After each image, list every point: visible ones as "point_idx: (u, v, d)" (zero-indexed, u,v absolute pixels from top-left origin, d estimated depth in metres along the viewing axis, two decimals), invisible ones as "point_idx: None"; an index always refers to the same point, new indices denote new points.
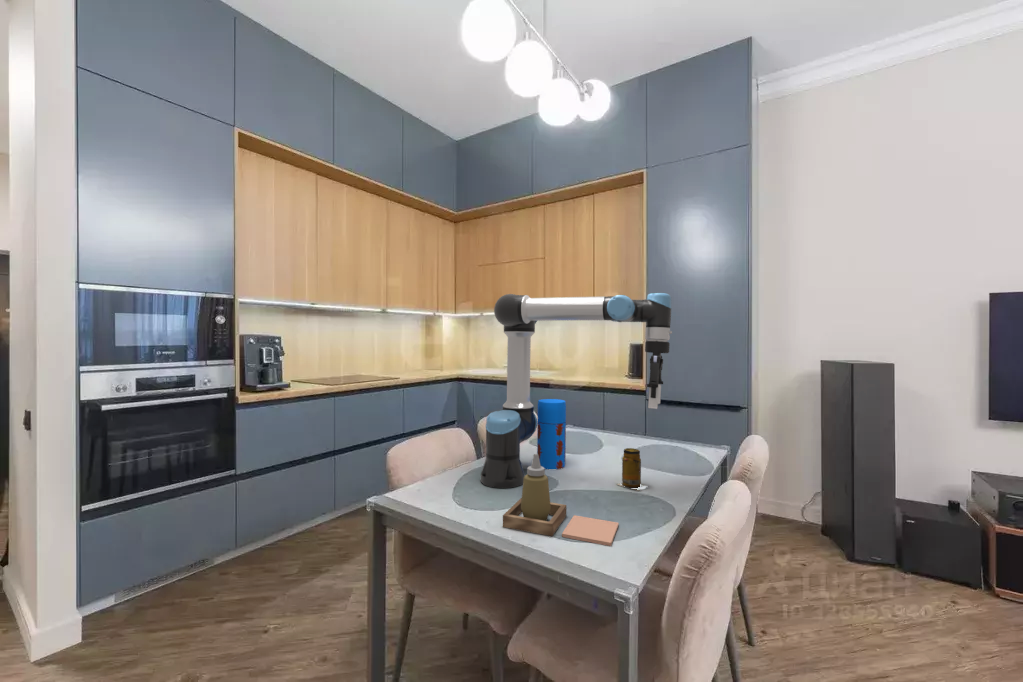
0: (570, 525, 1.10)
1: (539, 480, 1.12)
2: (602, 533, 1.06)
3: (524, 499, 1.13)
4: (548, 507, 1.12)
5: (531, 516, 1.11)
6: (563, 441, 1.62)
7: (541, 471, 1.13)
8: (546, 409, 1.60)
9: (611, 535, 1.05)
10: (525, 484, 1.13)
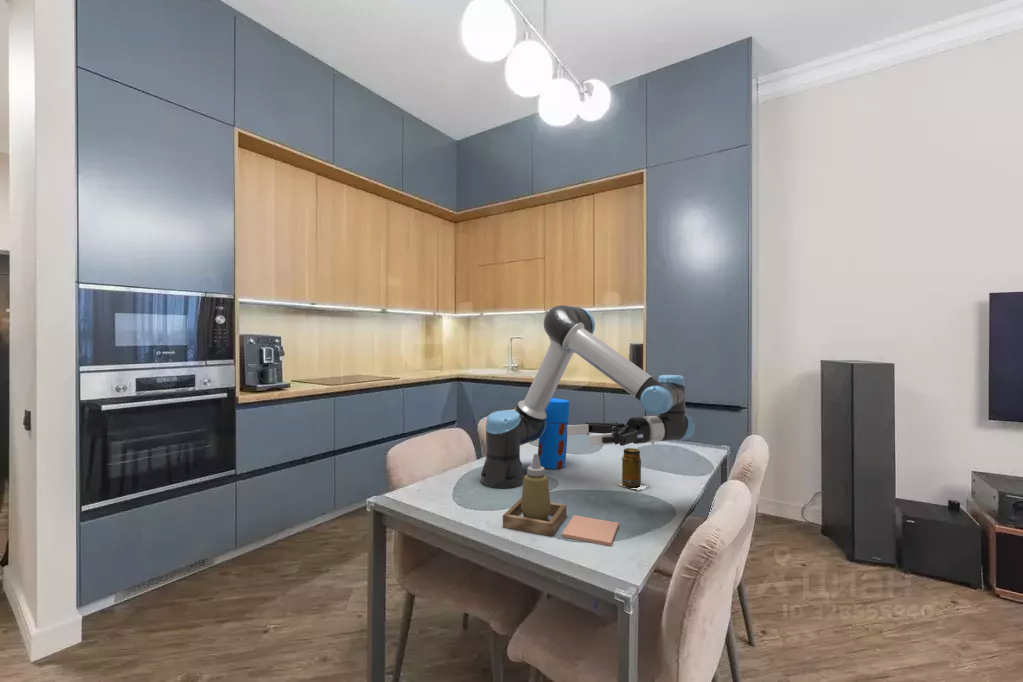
0: (570, 525, 1.10)
1: (539, 480, 1.12)
2: (602, 533, 1.06)
3: (524, 499, 1.13)
4: (548, 507, 1.12)
5: (531, 516, 1.11)
6: (565, 441, 1.62)
7: (541, 471, 1.13)
8: (550, 408, 1.60)
9: (611, 535, 1.05)
10: (525, 484, 1.13)
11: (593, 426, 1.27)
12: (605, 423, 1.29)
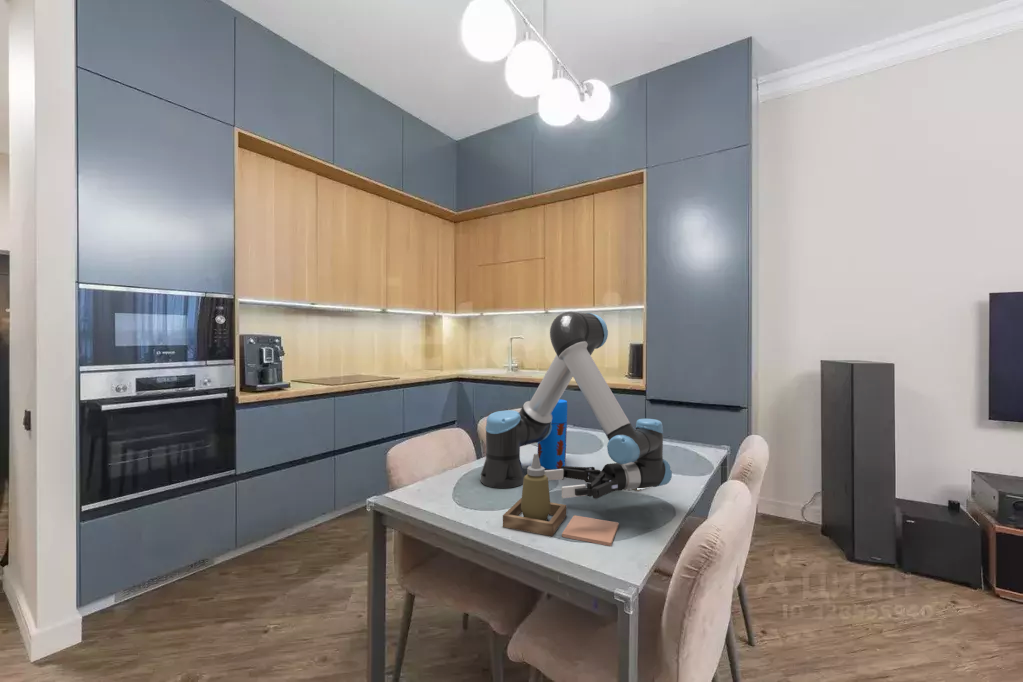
0: (570, 525, 1.10)
1: (539, 480, 1.12)
2: (602, 533, 1.06)
3: (524, 499, 1.13)
4: (548, 507, 1.12)
5: (531, 516, 1.11)
6: (564, 441, 1.62)
7: (541, 471, 1.13)
8: None
9: (611, 535, 1.05)
10: (525, 484, 1.13)
11: (568, 471, 1.24)
12: (581, 467, 1.26)
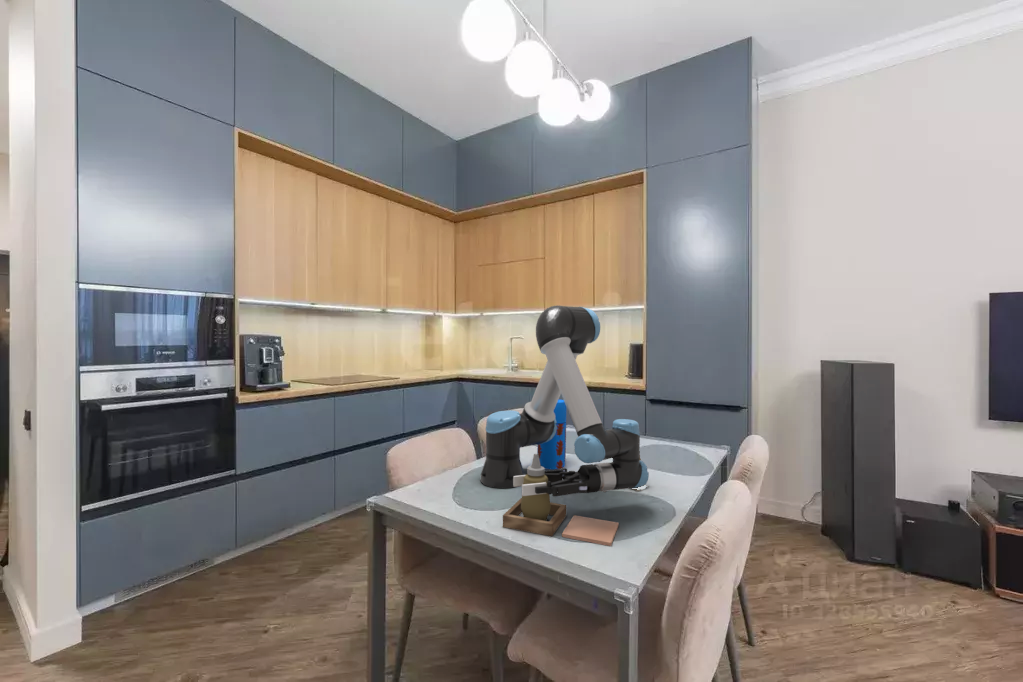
0: (570, 525, 1.10)
1: (539, 480, 1.12)
2: (602, 533, 1.06)
3: (524, 499, 1.13)
4: (548, 507, 1.12)
5: (531, 516, 1.11)
6: (563, 441, 1.62)
7: (541, 471, 1.13)
8: None
9: (611, 535, 1.05)
10: None
11: None
12: (555, 470, 1.22)
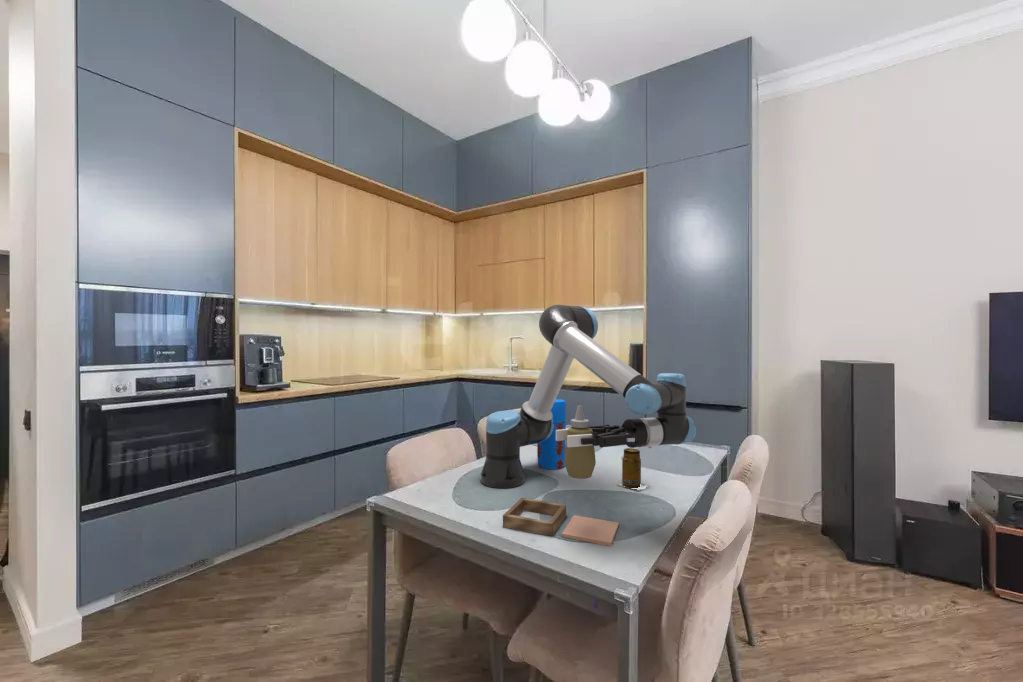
0: (570, 525, 1.10)
1: (585, 431, 1.07)
2: (602, 533, 1.06)
3: (568, 452, 1.08)
4: (593, 460, 1.07)
5: (576, 469, 1.06)
6: (563, 441, 1.62)
7: (586, 422, 1.08)
8: None
9: (611, 535, 1.05)
10: None
11: None
12: (597, 426, 1.17)
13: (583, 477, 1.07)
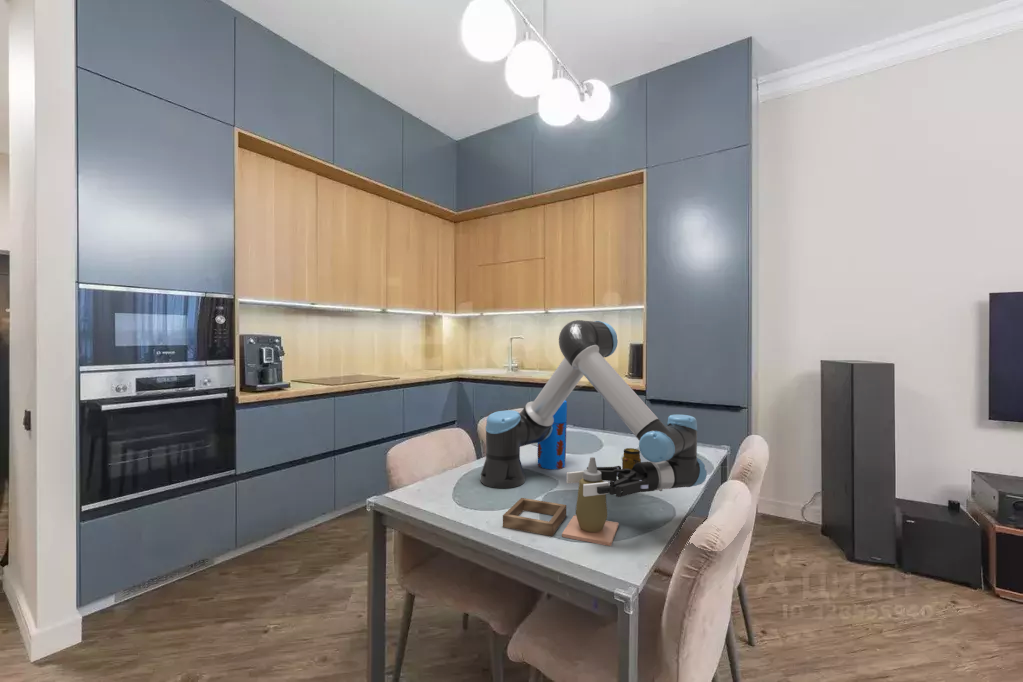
0: (570, 525, 1.10)
1: None
2: (602, 533, 1.06)
3: (580, 505, 1.07)
4: (605, 513, 1.07)
5: (588, 523, 1.05)
6: (564, 441, 1.62)
7: (599, 476, 1.07)
8: None
9: (611, 535, 1.05)
10: (581, 489, 1.07)
11: None
12: (608, 467, 1.17)
13: (595, 531, 1.06)
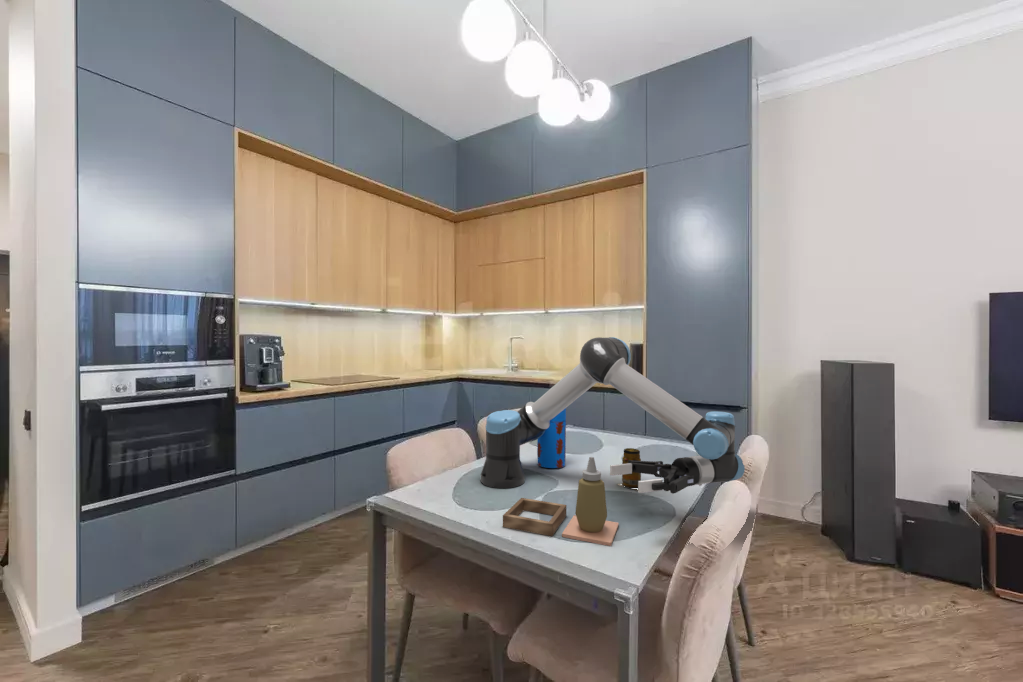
0: (570, 525, 1.10)
1: (597, 484, 1.06)
2: (602, 533, 1.06)
3: (580, 505, 1.07)
4: (605, 513, 1.07)
5: (588, 523, 1.06)
6: (563, 440, 1.62)
7: (598, 475, 1.07)
8: None
9: (611, 535, 1.05)
10: (581, 489, 1.07)
11: (637, 465, 1.20)
12: (649, 462, 1.22)
13: (595, 530, 1.06)
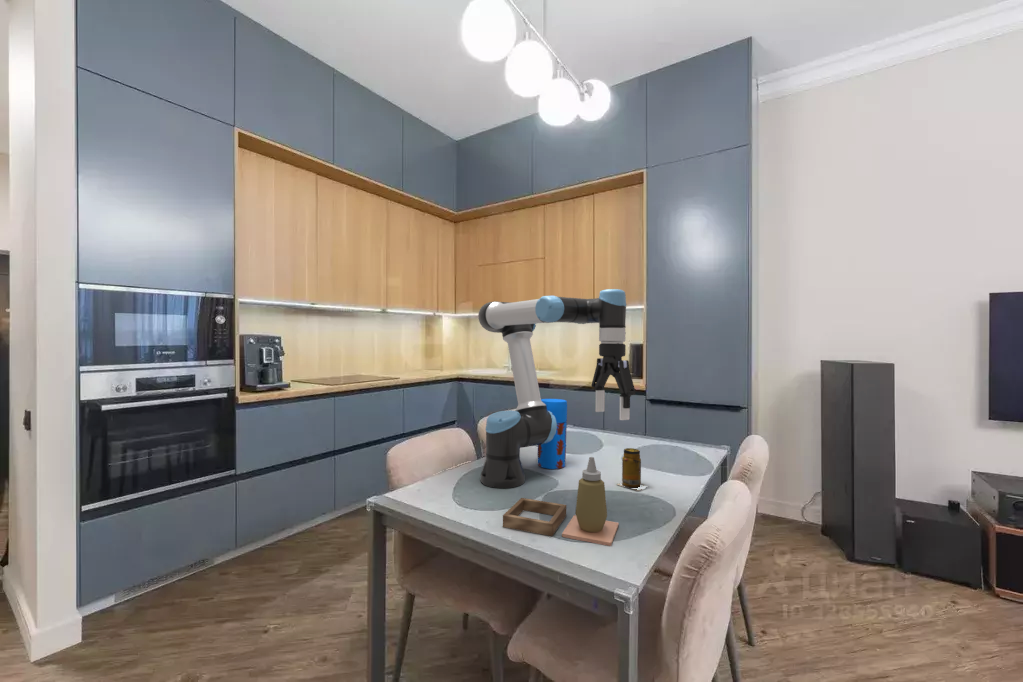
0: (570, 525, 1.10)
1: (597, 484, 1.06)
2: (602, 533, 1.06)
3: (580, 505, 1.07)
4: (605, 513, 1.07)
5: (588, 523, 1.06)
6: (564, 441, 1.62)
7: (598, 475, 1.07)
8: (547, 408, 1.61)
9: (611, 535, 1.05)
10: (581, 489, 1.07)
11: (599, 385, 1.30)
12: (596, 371, 1.31)
13: (595, 530, 1.06)
